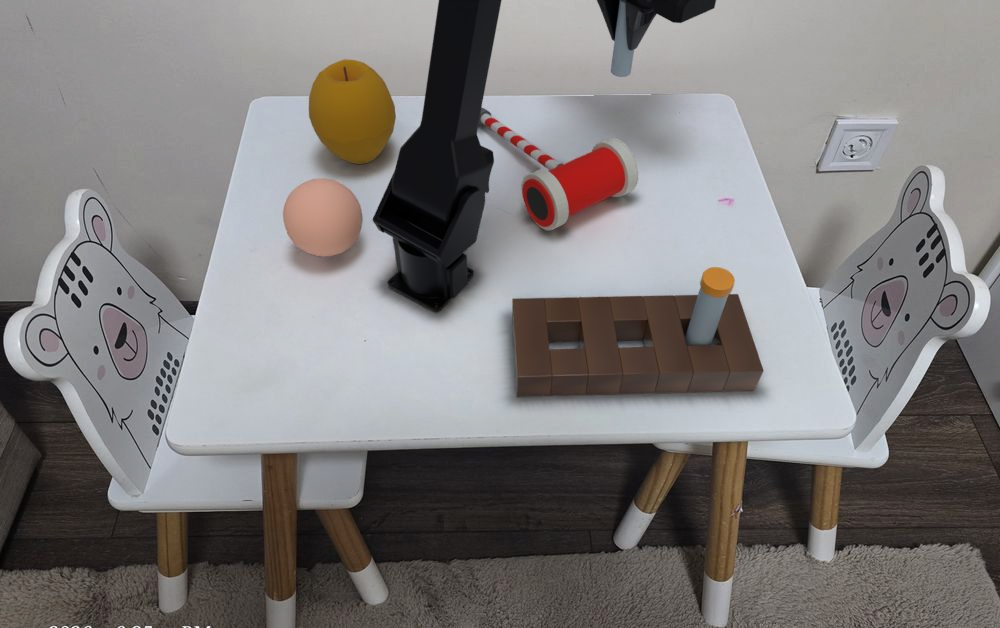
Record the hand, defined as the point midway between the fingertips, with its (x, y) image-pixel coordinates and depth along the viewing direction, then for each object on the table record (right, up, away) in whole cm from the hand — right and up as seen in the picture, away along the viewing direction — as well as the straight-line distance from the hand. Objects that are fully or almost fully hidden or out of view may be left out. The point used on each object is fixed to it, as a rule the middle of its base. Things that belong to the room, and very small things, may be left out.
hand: (624, 44), depth 88 cm
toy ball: (-33, -24, -7) cm, 41 cm away
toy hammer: (-9, -16, 0) cm, 18 cm away
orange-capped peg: (+4, -35, -17) cm, 39 cm away
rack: (-2, -35, -17) cm, 39 cm away
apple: (-31, -12, +3) cm, 34 cm away
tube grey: (0, -2, +3) cm, 4 cm away
